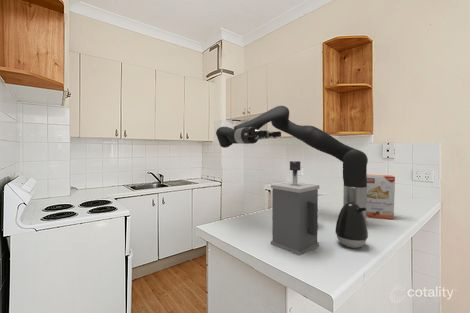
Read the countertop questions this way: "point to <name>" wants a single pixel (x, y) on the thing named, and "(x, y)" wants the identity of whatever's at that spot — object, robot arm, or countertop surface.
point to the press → (295, 217)
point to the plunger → (295, 170)
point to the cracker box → (380, 196)
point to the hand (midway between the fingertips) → (273, 133)
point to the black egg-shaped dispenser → (351, 226)
